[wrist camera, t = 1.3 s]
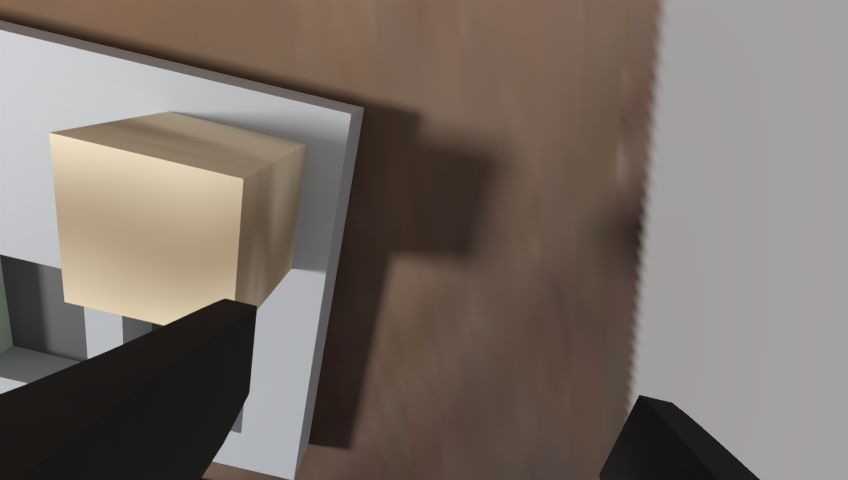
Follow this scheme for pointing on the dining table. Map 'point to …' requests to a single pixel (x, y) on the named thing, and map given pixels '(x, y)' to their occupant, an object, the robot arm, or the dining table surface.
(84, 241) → the maple block
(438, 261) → the dining table surface
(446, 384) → the dining table surface
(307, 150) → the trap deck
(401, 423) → the dining table surface
